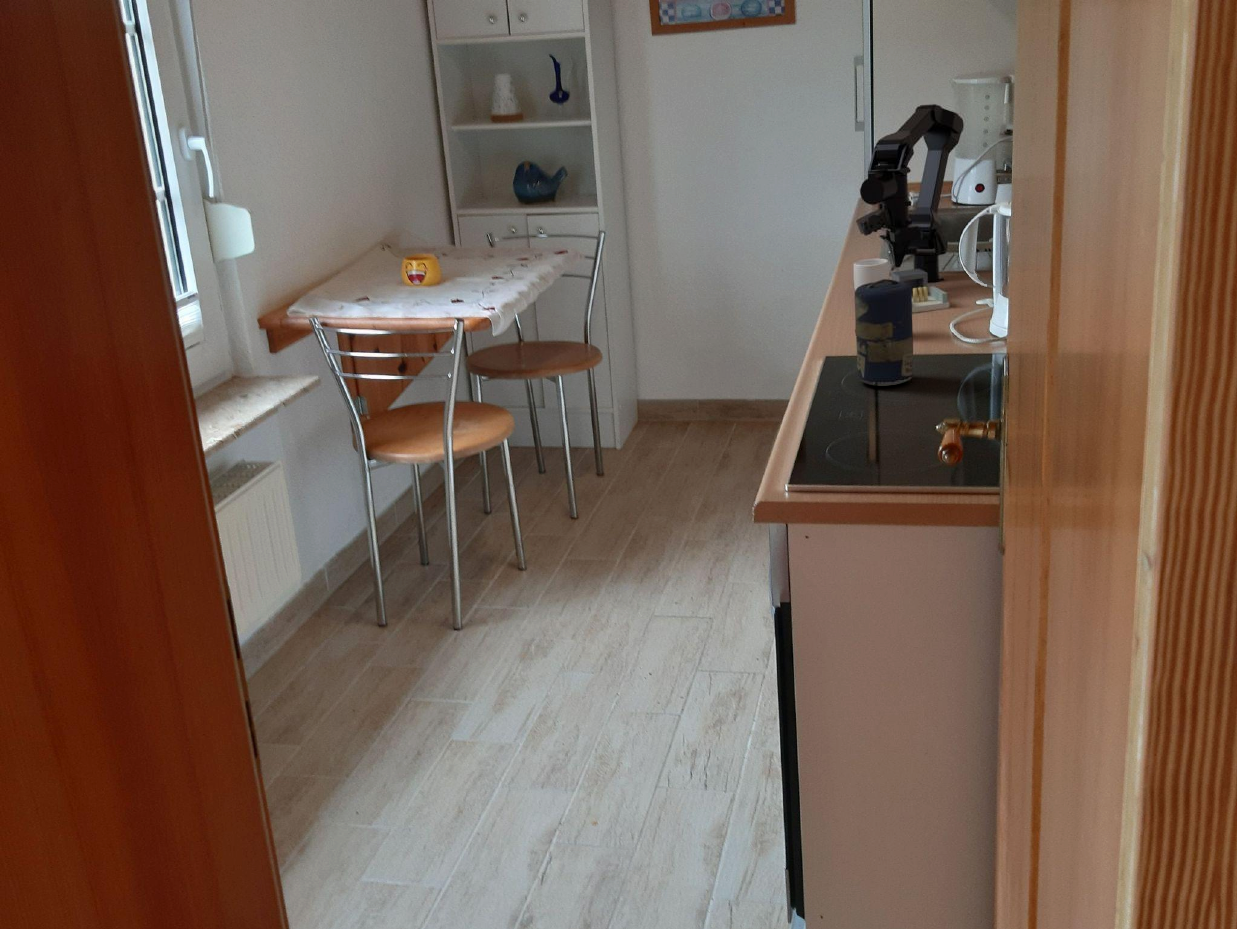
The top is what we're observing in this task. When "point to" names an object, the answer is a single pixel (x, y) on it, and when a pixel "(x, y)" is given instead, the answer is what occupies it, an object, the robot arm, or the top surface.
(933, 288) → the board
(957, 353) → the top surface
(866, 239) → the top surface
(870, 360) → the canister
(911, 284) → the grey block
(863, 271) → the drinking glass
